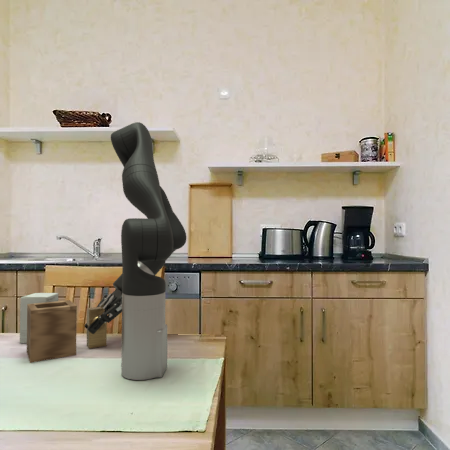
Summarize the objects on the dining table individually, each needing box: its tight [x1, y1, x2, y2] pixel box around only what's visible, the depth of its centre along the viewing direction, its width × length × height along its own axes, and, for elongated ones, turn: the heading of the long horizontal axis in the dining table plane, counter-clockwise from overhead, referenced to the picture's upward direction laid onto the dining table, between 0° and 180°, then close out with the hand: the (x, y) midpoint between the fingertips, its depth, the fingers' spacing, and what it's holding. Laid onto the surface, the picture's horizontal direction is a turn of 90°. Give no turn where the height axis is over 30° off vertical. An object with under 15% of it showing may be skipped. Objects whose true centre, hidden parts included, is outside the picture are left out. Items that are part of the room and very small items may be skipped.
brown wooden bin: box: [26, 299, 78, 364], centre depth 91 cm, size 10×9×12 cm
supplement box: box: [19, 292, 59, 344], centre depth 102 cm, size 7×7×13 cm
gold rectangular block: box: [86, 306, 108, 350], centre depth 97 cm, size 4×3×10 cm, turn 123°
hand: (88, 330), depth 96 cm, fingers closed on gold rectangular block, 2 cm apart
